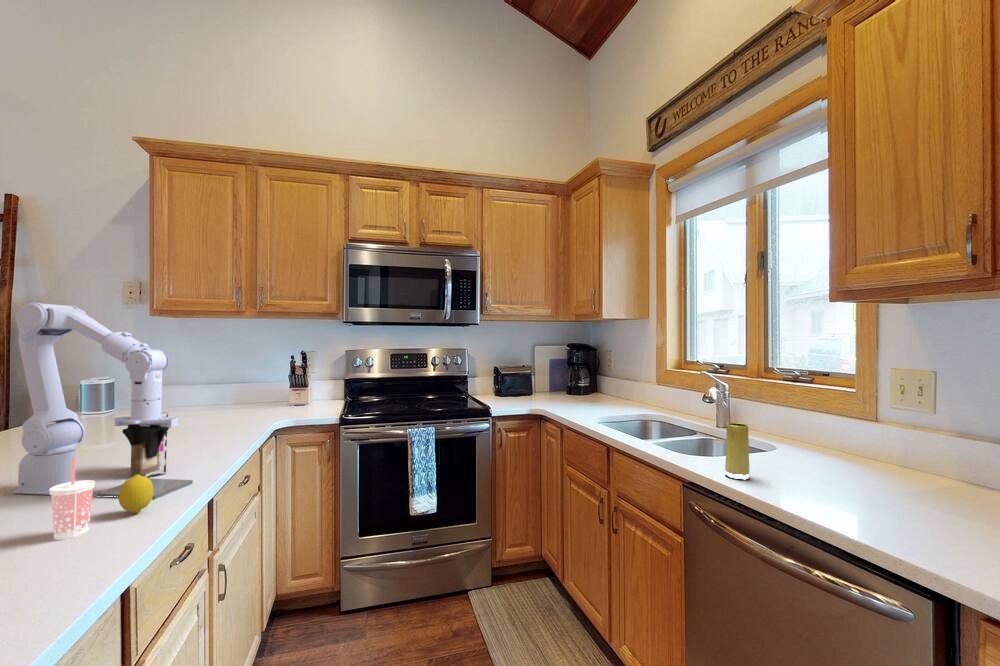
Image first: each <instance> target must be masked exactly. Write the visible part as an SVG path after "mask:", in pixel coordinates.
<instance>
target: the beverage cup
mask: <svg viewBox="0 0 1000 666" xmlns="http://www.w3.org/2000/svg"><path fill="white" fill-rule="evenodd" d="M75 479H76V457H75V458H72V469H71V482H67V483H63V484H59V485H56V486H53V487H51V488H50V489H49V492H50V496H51V510H52V511H51V512H52V529H53V539H54V540H57V541H62V540H64V541H65V540H70V538H71V539H75V538H77V537H76V536H79V535H81V534H83V533H86V532H87V531H88V530H89V531H90V521H91V520H90V519H91V512H92V504H93V503H92V501H93V492H94V488H95V486H96V481H95V480H91V479H90V480H89V479H85V480H82V479H81V480H75ZM89 531H88V532H89ZM88 532H87V533H88ZM87 533H86V534H87ZM81 536H82V535H81ZM74 537H75V538H74ZM79 537H80V536H79Z"/></svg>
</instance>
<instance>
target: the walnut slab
mask: <svg viewBox="0 0 1000 666" xmlns="http://www.w3.org/2000/svg"><path fill="white" fill-rule="evenodd" d="M130 447H131V448H130V476H131V477H134V476H135V475H137V474H139V475H140V476H142V475H145V474H148V473H151V472H154V471H157V470H159V449H158V452H157V456H155V457H151V458H147V457H146V446H145V442H143V443H139V444H136V445H132V446H131V445H130Z"/></svg>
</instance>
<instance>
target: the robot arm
mask: <svg viewBox="0 0 1000 666" xmlns="http://www.w3.org/2000/svg"><path fill="white" fill-rule="evenodd" d="M15 321H16V325H17V329H18V340H17V341H18V347H19V352H20V356H21V362H22V367H23V370H24V375H25V379H26V383H27V389H28V392H29V397H30V403H31V407H32V412H33V414H32V415H31V416H30V417H29V418H28V419H27V420H26V421H24V422H23V424H22V425H21V426H22V430H23V431H22V436H21V446H22V447H23V450H25V451H26V452H27V454H25V455H24V456H23V457H22V458H21V459H20V461H19V463H18V481H17V482H18V484H17V485H18V486H17V488H18V489H16V490H14V491H13V494H26V495H50V492H49V489H50V488H51V487H53V486H56V485H59V484H63V483H67V482H71V469H72V458H75V459H76V449H77V448H78V447H79V444H80V443H81V442H82V441H83V439H84V438H85V436H86V429H85V426H84V424H83V423H82V422H81V421H80V419H79V416H78V415H79V414H77V412H74V411H72V410H71V409H69V408H67V405H66V400H65V396H64V395H65V394H64V390H63V386H62V382H61V378H60V373H59V369H58V368H59V367H58V364H57V359H56V354H55V349H54V345H55V343H57V341H59V340H60V339H62V338H65V336H67V335H69V334H70V333H71V332H73V331H75V332H77V333H79V334H81V335H83V336H85V337H87V338H89V339H91V340H93V341H95V342H97V343H98V344H101V346H100V347H101V350H102V351H103V352H104V353H105V354H108V355H109V356H111V357H113V358H114V359H115V360H117V361H119V362H121V363H123V364H124V366H125V368H126V370H127V371H128V373H129V380H130V381H131V390H130V391H131V395H130V396H131V397H130V398H131V402H130V416H119V417H114V427H121V426H122V427H123V426H125V427H126V428H123V429H122V433H123V435H124V436H125V437H126V439H127V440H128V442H129V445H130V447H131V446H132V445H136V444H139V443H143V442H145V446H146V457H147V458H151V457H155V456H157V452H158V449H159V446H160V443H161V441H162V439H163V437H164V435H165V434H166V432H167V433H168V431H169V429H172V428H175V427H179V417H163V416H162V411H163V403H162V402H163V371H165V370H166V369H167V368H168V365H169V363H170V362H169V361H170V359H169V356H168V354H167V353H166V352H165V351H163V349H161V348H151V347H149V344H148V343H145V342H144V343H142V342H140V341H139V340H137V339H136V338H135V337H132V336H133V334H131V333H130V332H127V331H126V332H125V331H124V332H123V331H116V332H113V331H112V330H111V329H108V328H107V327H106V326H104V325H103V324H101V323H100V322H98V321H97V320H95V319H94V318H92V317H90V316H89V315H88V314H87V313H86V311H85V310H83V309H80V308H79V307H78V306H76V305H74V304H54V303H41V302H36V301H31V302H28V303H27V302H26V303H25V304H24V305H23V306H22V307H21V308H20V309H19V310H18V311H17V312H16V314H15ZM49 423H50V424H49ZM148 423H151V424H148ZM50 496H51V495H50Z"/></svg>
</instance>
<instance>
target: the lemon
mask: <svg viewBox="0 0 1000 666" xmlns="http://www.w3.org/2000/svg"><path fill="white" fill-rule="evenodd" d="M149 478H150V477H145V476H140V475H139V474H137V475H135V476H131V477H130V478H128V479H127V480H126V481H124V482H123V483H122V484H123V485H122V484H121V485H122V487H121V489H120V493H119V498H118V501H119V505H120V506H121V508H122V509H123V510H124V511H127V512H131V513H133V514H134V513H136V514H138V513H139V512H140V511H142V510H143V509H146V508H147V507H148V506H149V505H150V503H151V501H153V499H152V498H153V494H154V489H153V485H152V482H151V480H150V479H149ZM137 512H138V513H137Z"/></svg>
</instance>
